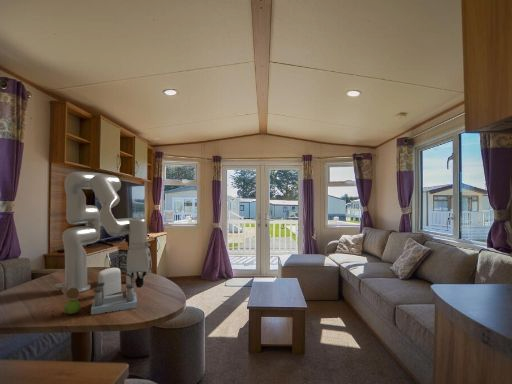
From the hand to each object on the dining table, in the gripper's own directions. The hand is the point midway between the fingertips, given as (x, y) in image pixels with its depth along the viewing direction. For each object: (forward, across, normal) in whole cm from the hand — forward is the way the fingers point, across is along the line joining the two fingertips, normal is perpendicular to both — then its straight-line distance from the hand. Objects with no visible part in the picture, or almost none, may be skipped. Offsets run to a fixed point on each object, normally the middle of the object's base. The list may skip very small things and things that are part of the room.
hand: (139, 286), depth 136 cm
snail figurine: (+6, +22, +14) cm, 27 cm away
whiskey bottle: (+6, +18, -33) cm, 38 cm away
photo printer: (+6, +18, -9) cm, 21 cm away
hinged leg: (+3, +3, +2) cm, 5 cm away
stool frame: (+6, +8, +6) cm, 12 cm away
